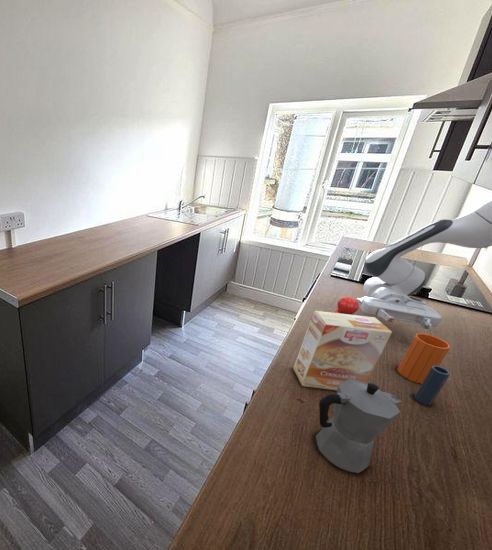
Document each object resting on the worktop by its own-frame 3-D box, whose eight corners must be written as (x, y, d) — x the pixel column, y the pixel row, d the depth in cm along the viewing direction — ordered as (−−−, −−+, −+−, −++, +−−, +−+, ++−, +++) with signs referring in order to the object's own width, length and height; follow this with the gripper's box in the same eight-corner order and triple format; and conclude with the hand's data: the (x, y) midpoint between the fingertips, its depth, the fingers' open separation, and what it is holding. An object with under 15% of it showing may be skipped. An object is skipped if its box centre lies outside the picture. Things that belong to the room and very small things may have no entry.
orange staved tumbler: (435, 382, 82) (456, 347, 77) (416, 385, 81) (437, 349, 76) (409, 366, 88) (427, 332, 83) (391, 368, 87) (409, 334, 82)
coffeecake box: (302, 386, 78) (325, 324, 70) (291, 368, 84) (312, 309, 77) (362, 395, 76) (394, 331, 68) (347, 375, 83) (374, 316, 75)
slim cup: (434, 404, 75) (453, 373, 71) (424, 406, 74) (443, 375, 70) (420, 395, 77) (438, 364, 73) (410, 396, 77) (428, 366, 73)
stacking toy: (309, 344, 96) (327, 292, 88) (326, 339, 98) (346, 289, 91) (332, 359, 89) (354, 305, 82) (350, 354, 92) (373, 301, 84)
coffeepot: (353, 431, 66) (385, 367, 59) (389, 474, 57) (432, 405, 50) (287, 431, 65) (311, 367, 58) (314, 475, 56) (347, 406, 49)
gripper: (358, 289, 105) (372, 306, 93) (430, 301, 98) (455, 322, 86) (352, 304, 107) (364, 323, 95) (422, 318, 101) (445, 340, 89)
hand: (408, 323), depth 91 cm, fingers open, 8 cm apart
